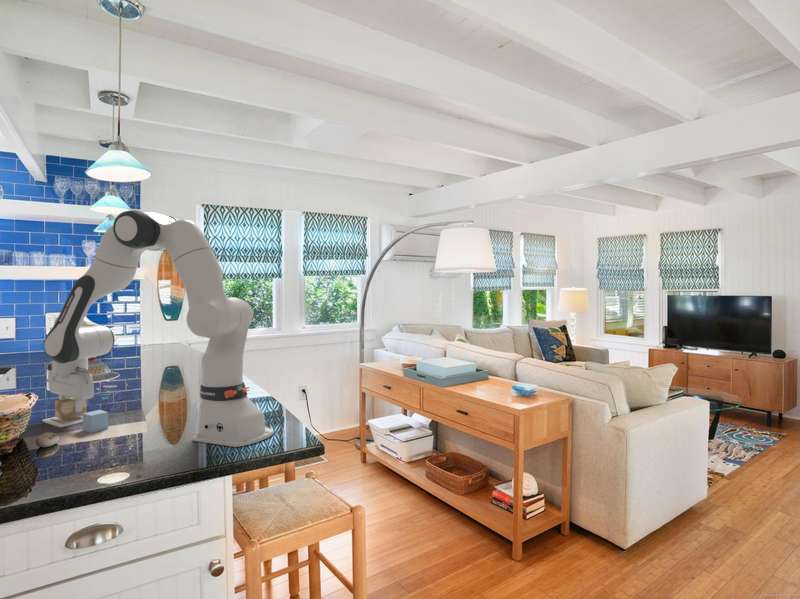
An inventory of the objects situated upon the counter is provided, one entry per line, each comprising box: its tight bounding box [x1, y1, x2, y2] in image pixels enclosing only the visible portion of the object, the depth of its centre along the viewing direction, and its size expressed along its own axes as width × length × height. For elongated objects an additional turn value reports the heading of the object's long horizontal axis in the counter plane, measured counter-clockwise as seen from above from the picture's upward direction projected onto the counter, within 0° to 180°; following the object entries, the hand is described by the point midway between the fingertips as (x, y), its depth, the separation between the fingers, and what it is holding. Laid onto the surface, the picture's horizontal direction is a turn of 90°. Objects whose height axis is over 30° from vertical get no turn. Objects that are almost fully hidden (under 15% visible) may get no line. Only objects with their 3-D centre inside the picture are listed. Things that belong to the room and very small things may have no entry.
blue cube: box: [82, 409, 109, 434], centre depth 134 cm, size 5×5×5 cm
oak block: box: [54, 397, 88, 420], centre depth 142 cm, size 6×6×5 cm
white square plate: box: [42, 416, 83, 428], centre depth 143 cm, size 11×11×1 cm
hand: (71, 410), depth 142 cm, fingers closed on oak block, 6 cm apart
